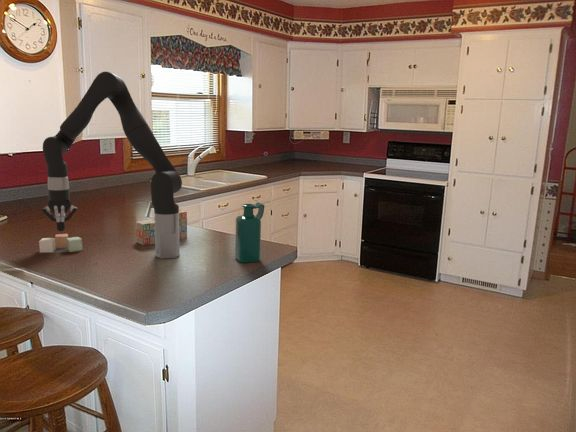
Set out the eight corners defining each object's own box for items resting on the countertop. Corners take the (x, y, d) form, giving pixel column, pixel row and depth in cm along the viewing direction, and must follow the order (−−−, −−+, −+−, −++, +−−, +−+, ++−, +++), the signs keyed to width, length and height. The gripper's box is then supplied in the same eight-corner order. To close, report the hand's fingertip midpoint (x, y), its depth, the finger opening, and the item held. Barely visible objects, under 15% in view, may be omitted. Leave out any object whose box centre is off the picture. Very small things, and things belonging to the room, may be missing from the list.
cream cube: (52, 252, 182) (51, 240, 181) (39, 252, 181) (39, 241, 180) (55, 249, 186) (55, 237, 185) (43, 249, 185) (42, 238, 184)
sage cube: (82, 250, 186) (81, 239, 185) (70, 251, 183) (69, 240, 182) (79, 247, 189) (78, 236, 188) (67, 249, 186) (66, 238, 185)
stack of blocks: (143, 245, 198) (142, 217, 195) (136, 242, 202) (135, 214, 200) (187, 238, 213) (187, 211, 210) (179, 235, 217) (179, 208, 215)
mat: (81, 253, 185) (81, 251, 185) (38, 255, 180) (38, 253, 180) (83, 245, 195) (83, 243, 195) (42, 247, 190) (42, 245, 190)
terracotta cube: (69, 247, 189) (68, 236, 188) (56, 248, 187) (55, 237, 186) (68, 244, 193) (67, 233, 192) (56, 245, 191) (55, 234, 190)
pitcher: (240, 263, 178) (241, 206, 174) (233, 257, 186) (234, 202, 181) (264, 261, 182) (266, 205, 178) (257, 255, 190) (258, 201, 185)
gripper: (38, 189, 180) (41, 233, 183) (76, 189, 184) (78, 232, 187) (41, 186, 187) (44, 229, 190) (77, 186, 191) (80, 228, 194)
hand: (61, 230), depth 189 cm, fingers closed
